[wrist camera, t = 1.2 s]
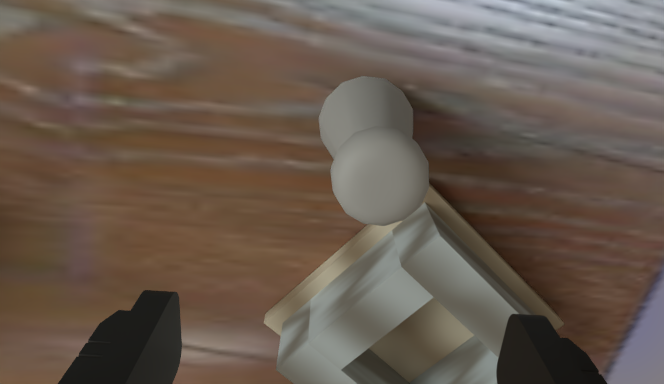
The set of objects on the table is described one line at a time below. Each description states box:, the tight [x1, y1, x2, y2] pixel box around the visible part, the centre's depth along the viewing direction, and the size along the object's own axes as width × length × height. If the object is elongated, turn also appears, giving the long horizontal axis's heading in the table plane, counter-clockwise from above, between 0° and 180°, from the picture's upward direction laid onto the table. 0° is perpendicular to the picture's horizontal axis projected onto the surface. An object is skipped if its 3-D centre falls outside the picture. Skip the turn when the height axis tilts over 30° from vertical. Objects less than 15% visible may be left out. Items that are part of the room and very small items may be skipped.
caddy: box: [264, 183, 564, 384], centre depth 36 cm, size 16×16×6 cm
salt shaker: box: [319, 76, 429, 226], centre depth 27 cm, size 6×6×13 cm
